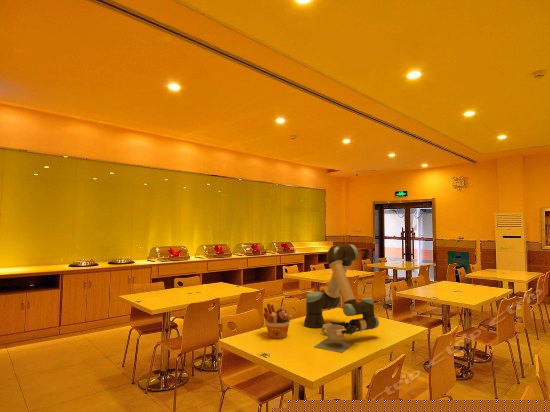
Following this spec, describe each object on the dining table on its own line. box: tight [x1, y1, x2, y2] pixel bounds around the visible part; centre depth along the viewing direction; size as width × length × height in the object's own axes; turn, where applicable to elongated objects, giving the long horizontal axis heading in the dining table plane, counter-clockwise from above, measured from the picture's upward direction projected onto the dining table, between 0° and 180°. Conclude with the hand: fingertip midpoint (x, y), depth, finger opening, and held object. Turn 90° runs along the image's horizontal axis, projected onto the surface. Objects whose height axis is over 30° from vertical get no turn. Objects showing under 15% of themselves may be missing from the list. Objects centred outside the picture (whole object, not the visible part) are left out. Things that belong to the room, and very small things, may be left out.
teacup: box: [321, 325, 345, 342], centre depth 204 cm, size 14×11×8 cm
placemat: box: [313, 337, 355, 354], centre depth 204 cm, size 18×20×1 cm
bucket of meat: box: [263, 303, 293, 340], centre depth 223 cm, size 20×16×20 cm
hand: (329, 329), depth 203 cm, fingers closed on teacup, 13 cm apart
